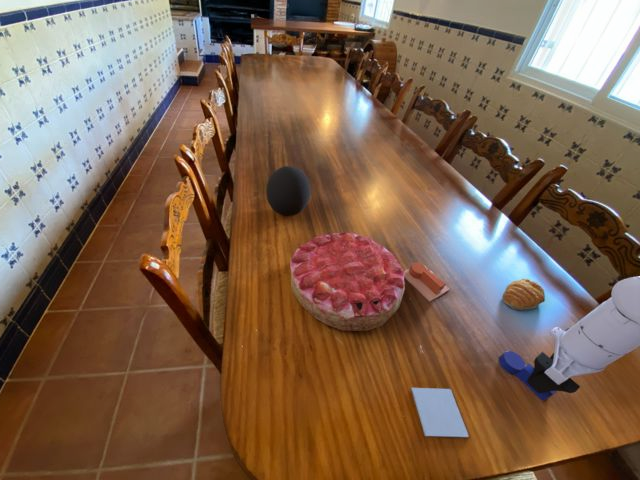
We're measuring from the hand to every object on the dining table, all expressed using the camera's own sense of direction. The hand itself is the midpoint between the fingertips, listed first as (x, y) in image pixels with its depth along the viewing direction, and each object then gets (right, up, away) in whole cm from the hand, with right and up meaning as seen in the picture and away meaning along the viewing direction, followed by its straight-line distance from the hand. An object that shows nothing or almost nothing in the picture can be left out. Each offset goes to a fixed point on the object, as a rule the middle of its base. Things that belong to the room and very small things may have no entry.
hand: (544, 375), depth 51 cm
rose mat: (-12, +12, +20) cm, 26 cm away
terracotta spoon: (-12, +12, +19) cm, 26 cm away
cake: (-32, +12, +17) cm, 38 cm away
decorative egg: (-45, +29, +36) cm, 65 cm away
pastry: (+10, +8, +18) cm, 22 cm away
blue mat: (-19, -5, -2) cm, 20 cm away
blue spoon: (-1, -2, +4) cm, 4 cm away
